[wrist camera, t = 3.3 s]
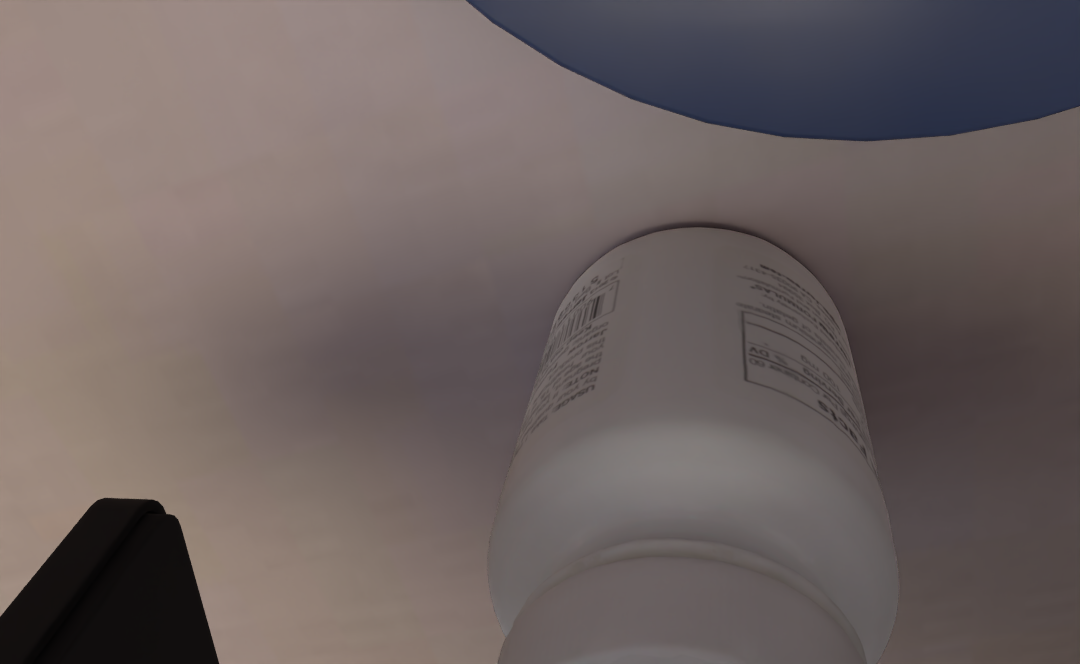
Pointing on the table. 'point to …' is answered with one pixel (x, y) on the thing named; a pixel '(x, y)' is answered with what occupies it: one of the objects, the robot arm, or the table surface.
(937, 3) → the blue pot lid
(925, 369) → the table surface
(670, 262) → the pill bottle
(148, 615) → the robot arm
